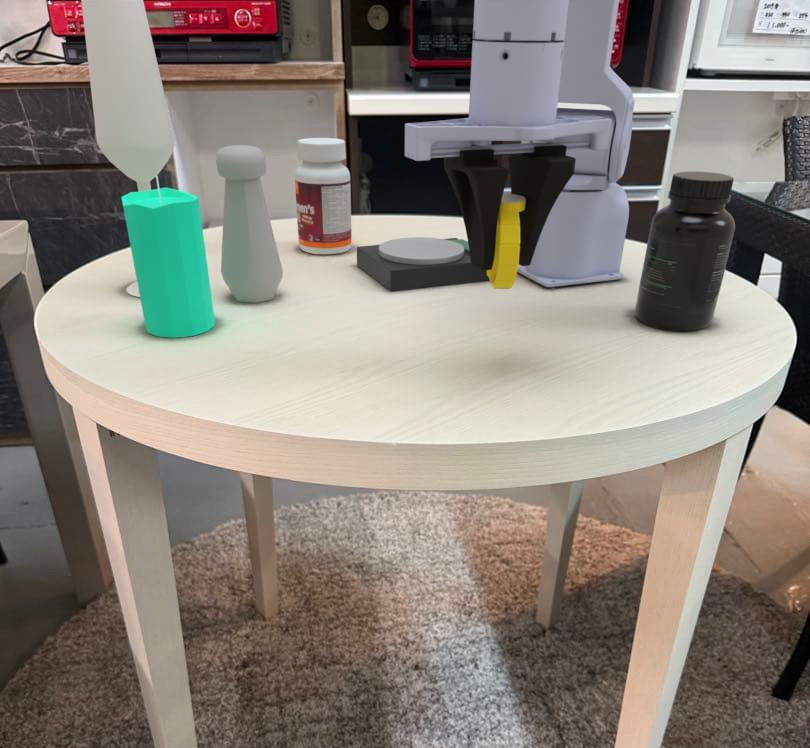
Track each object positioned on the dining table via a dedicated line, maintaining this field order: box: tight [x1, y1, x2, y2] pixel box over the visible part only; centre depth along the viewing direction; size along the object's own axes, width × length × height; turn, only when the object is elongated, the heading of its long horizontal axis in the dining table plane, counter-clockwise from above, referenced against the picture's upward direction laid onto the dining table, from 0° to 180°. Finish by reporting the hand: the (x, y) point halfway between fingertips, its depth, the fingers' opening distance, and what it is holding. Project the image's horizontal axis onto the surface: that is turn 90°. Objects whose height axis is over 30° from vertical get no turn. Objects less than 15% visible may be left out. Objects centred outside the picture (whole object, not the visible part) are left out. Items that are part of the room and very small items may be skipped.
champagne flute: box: [80, 0, 176, 298], centre depth 68 cm, size 7×7×24 cm
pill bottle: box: [294, 137, 353, 255], centre depth 85 cm, size 6×6×11 cm
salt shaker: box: [215, 144, 284, 304], centre depth 70 cm, size 6×6×13 cm
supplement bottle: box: [634, 171, 736, 332], centre depth 66 cm, size 7×7×12 cm
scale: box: [356, 236, 490, 292], centre depth 80 cm, size 12×10×3 cm
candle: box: [121, 175, 216, 339], centre depth 63 cm, size 6×6×12 cm
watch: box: [487, 193, 526, 290], centre depth 54 cm, size 6×3×6 cm, turn 4°
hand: (500, 264), depth 55 cm, fingers closed on watch, 2 cm apart
